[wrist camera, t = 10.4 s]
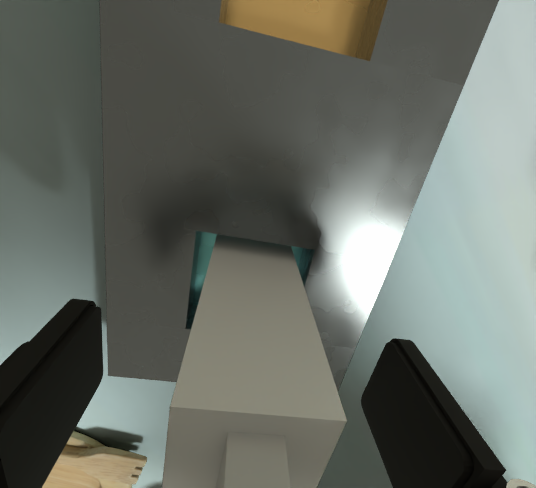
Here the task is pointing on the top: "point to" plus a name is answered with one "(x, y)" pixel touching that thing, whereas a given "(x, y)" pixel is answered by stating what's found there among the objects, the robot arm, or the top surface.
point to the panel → (267, 151)
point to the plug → (252, 379)
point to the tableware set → (94, 466)
